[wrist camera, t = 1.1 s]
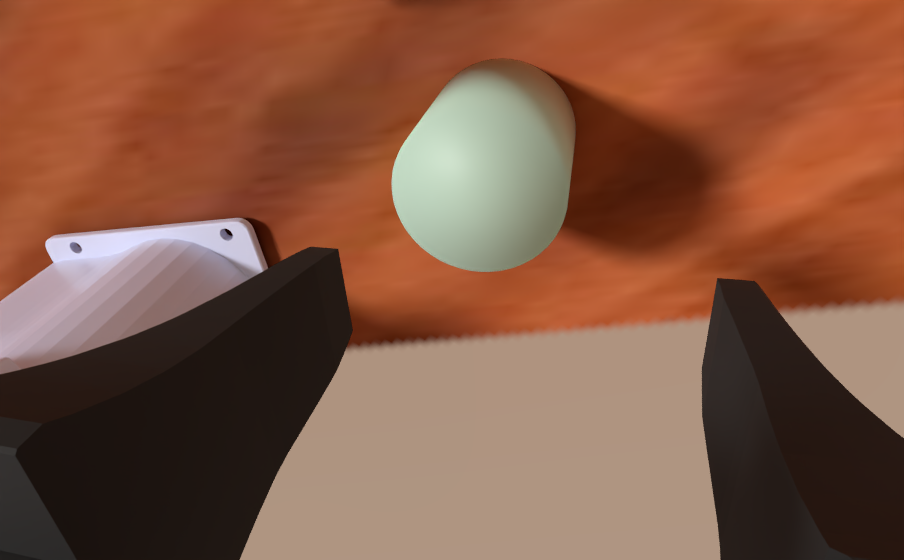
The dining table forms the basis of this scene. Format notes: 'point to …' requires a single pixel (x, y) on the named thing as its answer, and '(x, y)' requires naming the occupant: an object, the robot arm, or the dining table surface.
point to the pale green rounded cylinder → (488, 167)
